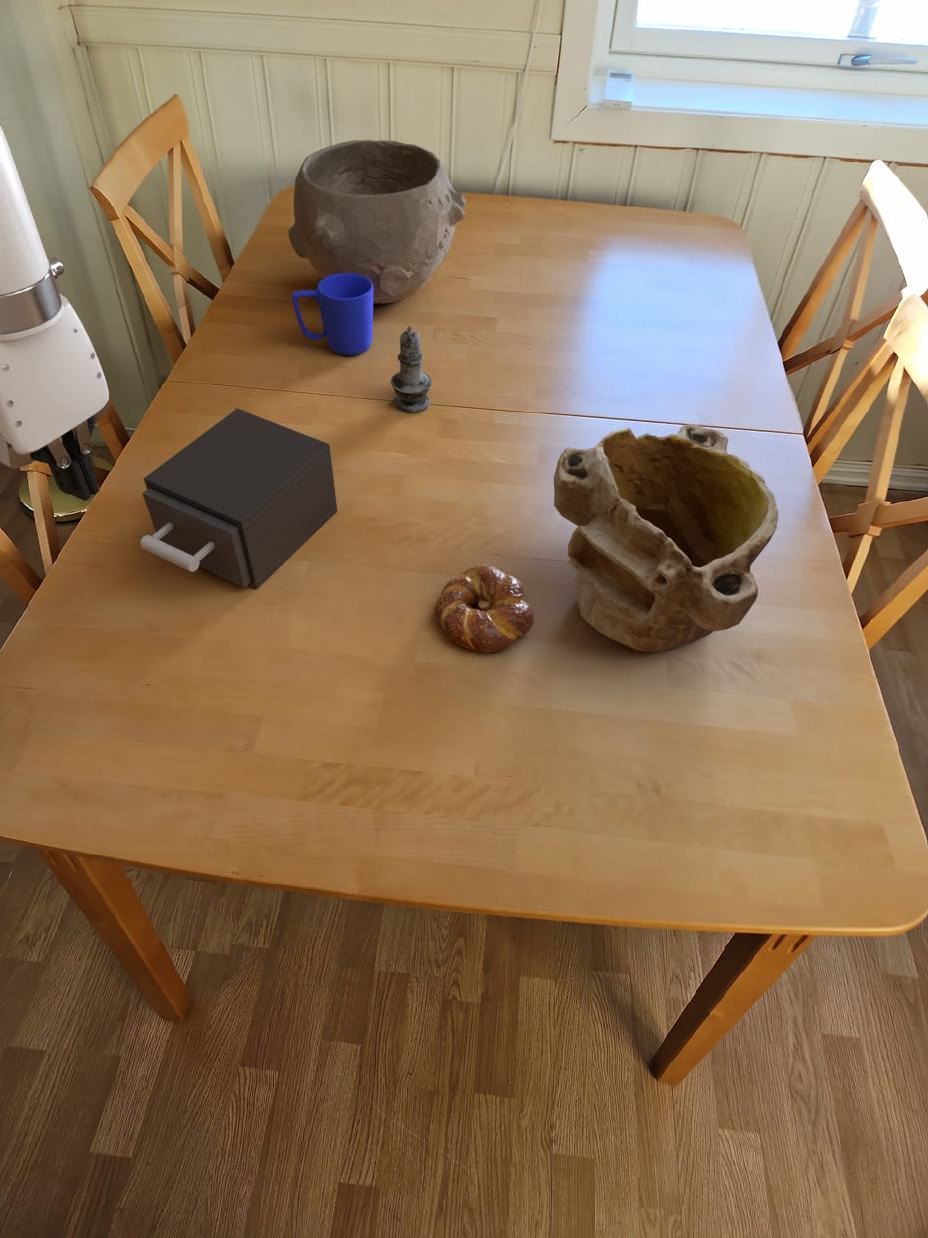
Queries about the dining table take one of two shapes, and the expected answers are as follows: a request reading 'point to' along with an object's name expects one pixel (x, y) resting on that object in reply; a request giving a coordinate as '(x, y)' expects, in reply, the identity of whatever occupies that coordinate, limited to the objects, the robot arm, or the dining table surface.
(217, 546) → the drawer
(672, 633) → the ceramic vessel
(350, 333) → the mug
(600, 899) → the dining table surface
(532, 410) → the dining table surface
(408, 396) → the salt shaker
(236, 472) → the cabinet
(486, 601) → the pretzel
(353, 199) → the bowl
